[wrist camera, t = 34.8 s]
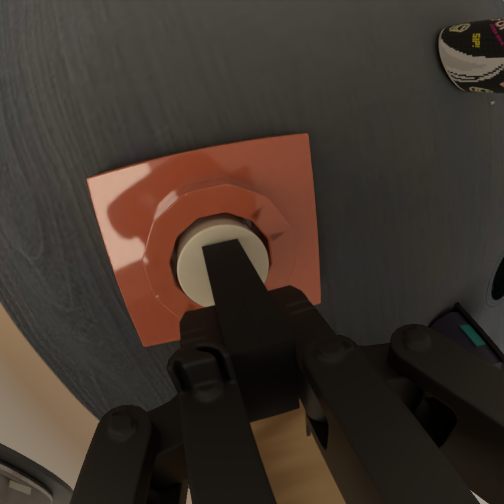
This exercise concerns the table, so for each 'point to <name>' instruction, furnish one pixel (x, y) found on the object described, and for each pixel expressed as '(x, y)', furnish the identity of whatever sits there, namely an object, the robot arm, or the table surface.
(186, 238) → the beige button cap
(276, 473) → the block
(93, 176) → the button base
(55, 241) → the table surface
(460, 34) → the beverage can
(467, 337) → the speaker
